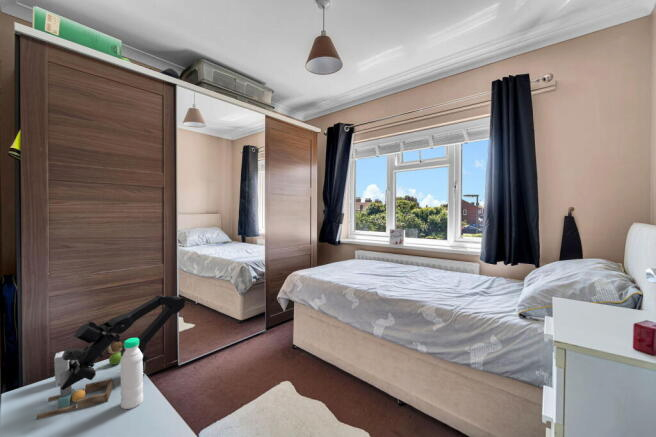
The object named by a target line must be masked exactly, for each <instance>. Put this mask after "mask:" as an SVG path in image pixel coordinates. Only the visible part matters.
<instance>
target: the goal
mask: <svg viewBox="0 0 656 437" xmlns="http://www.w3.org/2000/svg"><path fill="white" fill-rule="evenodd" d="M114 385H115V384H114V378H109V379H105V380H99V381H94V382H91V383H86V384H85V385H84V388H85V389H84V388H82V389H81V390H84V391H85V394H86V393H87V394H88V393H92V392H96V391H99V389H100V390H104V389H105V392H104V393H100V394H97V395H92V396H87V397H84V398H83V399H79V400H78V401H77V402H76V404H74V405H71V406H70V405H69V406H68V407H63V408H59V409H58V408H57V409H54V410H53V409H52V410H50V411H46V412H42V413H41V412H40V413H38V414H36V417H35V418H36V419H35V420H40V419H43V418H44V419H45V418H48V417H52V416H55V415H60V414H63V413H68V412H71V411H76V410H79V409H84V408H87V407H88V408H89V407H91V406H95V405H99V404H103V403H107V402H108V401H109V399H110V396H111V394H112V391H113V387H114ZM76 391H77V390H74V392H76ZM59 398H60V394H57V395H51V396H49V397H48V398H47V402H53V401H58V399H59Z"/></svg>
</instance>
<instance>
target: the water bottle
mask: <svg viewBox="0 0 656 437" xmlns="http://www.w3.org/2000/svg"><path fill="white" fill-rule="evenodd" d="M123 346H124V348H125V349H126V350H125V352H124V354H123V356H122V358H121V360H120V363H119V364H120V387H121V388H120V396H121V397H120V408H121V409H124V410H129V409H133V408H136V407H138V406H139V405H140V404H141V403H142V402H143V401H144V391H143V390H144V383H143V380H144V376H143V361H142V359H143V354H144V353H143V354H142V353H141V351H140V349H139V348H138V346H139V339H138V337H130V338H128V339H126V340H124V342H123Z"/></svg>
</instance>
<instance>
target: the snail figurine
mask: <svg viewBox="0 0 656 437" xmlns="http://www.w3.org/2000/svg"><path fill="white" fill-rule="evenodd" d="M122 349H123V343H122V342H121V341H120V342H119V343H118V342H116V341H115V342H113V343H112V344H111V345H110V346H109V347H108V348H107V351H108V352H109V354H110V356H109V359H108V361H109V364H111V365H119V364H121V363H120V360H121V358H122V357H121V350H122Z"/></svg>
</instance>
